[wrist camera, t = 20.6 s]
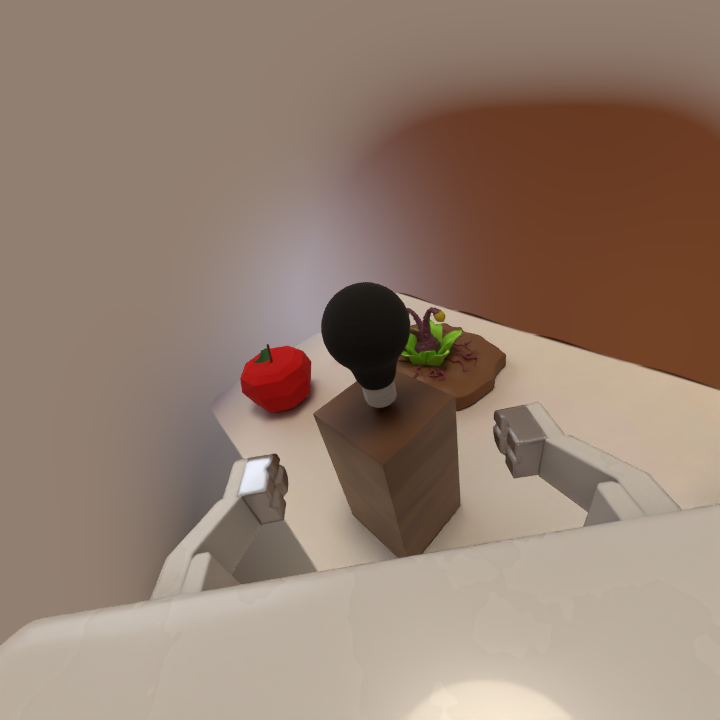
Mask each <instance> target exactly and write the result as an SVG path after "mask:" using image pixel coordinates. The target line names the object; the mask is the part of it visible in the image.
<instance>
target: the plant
mask: <svg viewBox="0 0 720 720" xmlns="http://www.w3.org/2000/svg"><path fill="white" fill-rule="evenodd" d="M406 309H407V311H408V314H410V313H411V315H412V316H413V317H414V318H413V319H414V320H415V321H416V323H417V324H416V325H412V326H410V336H409V339H408V343H407V345H406V347H405V349H404V351H403V352H402V354H401V355H400V356H399V358H398V360H397V365H396V370H397V371H399V372H402V373H404V374H406V375H408V376H410V377H413V378H415V379H417V380H419V381H422V382H424V383H426V384H428V385H430V386H433V387H435V388H437V389H439V390H442V391H444V392H446V393H448V394H450V395H453V396H455V405H456V410H460V409H463V408H465V407H468V406H470V405H471V404H473V403H475V402H476V401H477V400H478V399H480V398H481V397H482V396H484V395H485V394H486V393H488V392H489V391H491V390H492V389H493V387H494V381H495V376H496V375H497V373H498V372H499V371H500V370H501V369H502V368H503V367H504V366H505V365H506V355H505V353H503V352H502V351H501V350H500V349H499V348H497V347H496V346H494V345H493V344H491V343H489V342H488V341H486V340H485V339H484V338H483V337H481V336H479V335H476V334H472V333H467V332H464V331H463V330H462V328H461V327H452V326H450V325H448V324H445V323H442V324H436V325H435V324H434V322H433V321H431V320H430V316H431V315H430V314H431V313H433V316H434V318H435V320H436V321H438V322H444V319H445V314H444V312H443V311H441V310H439V309H436V308H433V307H431V308H430V309H428V310H427V312H426V313H425V316H424V317H423V319H424V320H423V323H422V321H421V319H420V318H419V317H418V315H417V314H416V313H415V312H414V311H413V310H412V309H410V308H406Z"/></svg>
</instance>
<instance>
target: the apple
mask: <svg viewBox="0 0 720 720" xmlns="http://www.w3.org/2000/svg"><path fill="white" fill-rule="evenodd" d="M240 379H241V386H242V393H244V394H245V395H246V396H247V397H249V398H250V399H251V400H252V401H254V402H255V403H256V404H257V405H259V406H261V407H262V408H264V409H266V410H267V411H269V412H281V411H284V410H288V409H292V408H294V407H295V406H296V405H298V404H299V403H300V402H302V401H303V400H304V399H305V398H306V397H307V396H308V395H309V393H310V380H311V361H310V359H309V358H308V357H307V356H306V354H305V353H304V352H303V351H301V350H298V349H296V348H293V347H290V346H283V347H278V348H272V349H270V348H269V345H268V344H267V349H264V350H262V351H261V353H260V354H259V355H257V356H256V357H254V358H253V359H251V360H250V361H249V362H247V363H246V364H245V367H244V370H243V373H242V375H241V378H240Z"/></svg>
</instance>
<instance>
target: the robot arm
mask: <svg viewBox="0 0 720 720" xmlns="http://www.w3.org/2000/svg"><path fill="white" fill-rule="evenodd" d="M494 420H495V422H496V425H495V426H494V427H493V434H494V438H495V442H496V445H497V447H498V449H499V451H500V453H502V454H504V455H505V456H506V462H505V463H506V465H507V466H508V468H509V470H510V472H511V474H512V476H513V478H520V477H527V476H533V475H539V476H540V477H541V478H542V479H544V480H545V481H546V482H548V483H549V484H551V485H552V486H553V487H555V488H556V489H557V490H559V491H560V492H561V493H563V494H564V495H565V496H567V497H568V498H570V499H571V500H572V501H574V502H575V503H576V504H578V505H579V506H580V507H582V508H583V509H584V510H586V511H587V512H588V515H587V517H586V520H585V523H584V526H583V527H579V528H573V529H568V530H562V531H556V532H550V533H544V534H538V535H532V536H526V537H520V538H514V539H509V540H503V541H497V542H491V543H485V544H479V545H473V546H467V547H461V548H455V549H449V550H443V551H437V552H432V553H426V554H420V555H414V556H408V557H402V558H396V559H390V560H384V561H379V562H373V563H367V564H361V565H355V566H349V567H343V568H337V569H332V570H326V571H320V572H314V573H308V574H302V575H296V576H290V577H284V578H279V579H272V580H267V581H262V582H255V583H249V584H243V585H240V584H239V583H238V582H237V581H236V580H235V579H234V578H233V576H232V575H231V574H232V572H233V571H234V569H235V568H236V566H237V564H238V563H239V561H240V560H241V558H242V556H243V554H244V553H245V552H246V550H247V548H248V547H249V545H250V544H251V542H252V541H253V539H254V537H255V536H256V534H257V533H258V531H259V529H260V528H261V526H262V524H266V523H271V522H276V521H281V520H284V514H285V507H286V502H285V500H284V498H283V497H284V496H285V494H286V493H287V492H288V476H287V473H286V470H285V468H284V467H283V466H281V465H279V462H280V459H279V457H278V455H277V454H270V455H264V456H258V457H252V458H247V459H242V460H236V462H235V463H234V465H233V467H232V471H231V474H230V477H229V481H228V484H227V487H226V490H225V494H224V497H223V500H219V501H218V502H217V503H216V504H215V505H214V506H213V508H212V509H211V510H210V511H209V512H208V513H207V514H206V515H205V516H204V518H203V519H202V520H201V521H200V522H199V523H198V524H197V525H196V526H195V527H194V528H193V530H192V531H191V532H190V533H189V534H188V535H187V536H186V537H185V538H184V539H183V541H182V542H181V543H180V544H179V545H178V546H177V547H176V548H175V549H174V550H173V552H172V553H171V554H170V555H169V556H168V557H167V558H166V561H165V563H164V566H163V568H162V571H161V573H160V576H159V579H158V581H157V583H156V586H155V588H154V591H153V593H152V596H151V598H150V600H148V601H143V602H136V603H130V604H124V605H119V606H112V607H106V608H101V609H94V610H88V611H83V612H77V613H71V614H65V615H58V616H52V617H46V618H42V619H38V620H34V621H32V622H30V623H28V624H26V625H25V626H24V627H22V628H21V629H20V630H19V631H17V632H16V633H15V634H13V635H12V636H11V637H10V638H9V639H7V640H6V641H5V642H4V643H3V644H2V645H1V646H0V720H720V504H715V505H709V506H703V507H697V508H691V509H686V510H682V509H681V508H680V507H679V506H678V505H677V504H676V503H675V502H674V501H673V500H672V498H671V497H670V496H669V495H668V494H667V493H666V492H665V491H664V490H663V489H662V488H661V487H660V485H659V484H658V483H657V482H656V481H655V480H654V479H653V478H652V477H651V476H650V475H649V474H648V473H646V472H644V471H642V470H640V469H638V468H636V467H634V466H632V465H630V464H628V463H626V462H624V461H622V460H620V459H618V458H616V457H614V456H612V455H610V454H608V453H606V452H603V451H601V450H599V449H597V448H595V447H593V446H591V445H589V444H587V443H585V442H583V441H581V440H579V439H577V438H575V437H573V436H571V435H568V436H566V435H565V434H564V433H563V432H562V430H561V429H560V428H559V427H558V425H557V424H556V423H555V421H554V420H553V419H552V418H551V416H550V415H549V414H548V412H547V411H546V410H545V409H544V407H543V406H542V405H541V404H540V403H538V402H536V403H531V404H526V405H521V406H516V407H511V408H506V409H501V410H496V411H495V412H494Z"/></svg>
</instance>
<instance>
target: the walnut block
mask: <svg viewBox="0 0 720 720" xmlns="http://www.w3.org/2000/svg"><path fill="white" fill-rule="evenodd" d="M394 381H395V387H396V392H397V396H396V399H395V401H393V402H392V403H391V404H390V405H388V406H386V407H383V408H376V407H372V406H370V405H369V404H368V403H367V401H366V400H365V397H364V393H363V389H362V387H361V386H360V384H359V383H358V381H356V382H355V383H354V384H352V385H351V386H350V387H348V388H347V389H346V390H344V391H343V392H342V393H340V394H339V395H338V396H336V397H335V398H334V399H332V400H331V401H330V402H328V403H327V404H326V405H324V406H323V407H322V408H320V409H319V410H318V411H316V412H315V413H314V414H313V415H314V417H315V420H316V422H317V425H318V427H319V430H320V433H321V435H322V438H323V440H324V443H325V445H326V448H327V450H328V453H329V455H330V458H331V461H332V463H333V466H334V468H335V471H336V473H337V476H338V478H339V481H340V483H341V486H342V488H343V491H344V494H345V496H346V499H347V501H348V504H349V506H350V509H351V511H352V514H353V515H354V516H355V517H356V518H358V519H359V520H360V521H361V522H362V523H363V524H364V525H365V526H366V527H367V528H368V529H369V530H370V531H371V532H372V533H373V534H374V535H375V536H376V537H377V538H378V539H379V540H380V541H381V542H382V543H383V544H384V545H385V546H387V547H388V548H389V549H390V550H391V551H392V552H393V553H394V554H395V555H396V556H397V557H398V558H402V557H408V556H414V555H420V554H422V553H423V551H424V550H425V549H426V548H427V546H428V545H429V544H430V543H431V541H432V540H433V539H434V538H435V536H436V535H437V534H438V533H439V532H440V530H441V529H442V528H443V527H444V525H445V524H446V523H447V522H448V520H449V519H450V518H451V517H452V515H453V514H454V513H455V512H456V510H457V509H458V508H459V507H460V486H459V466H458V445H457V425H456V405H455V396H453V395H450V394H448V393H446V392H444V391H442V390H439V389H437V388H435V387H433V386H430V385H428V384H426V383H424V382H422V381H419V380H417V379H415V378H413V377H410V376H408V375H406V374H404V373H402V372H399V371H397V370H396V375H395V380H394Z"/></svg>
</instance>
